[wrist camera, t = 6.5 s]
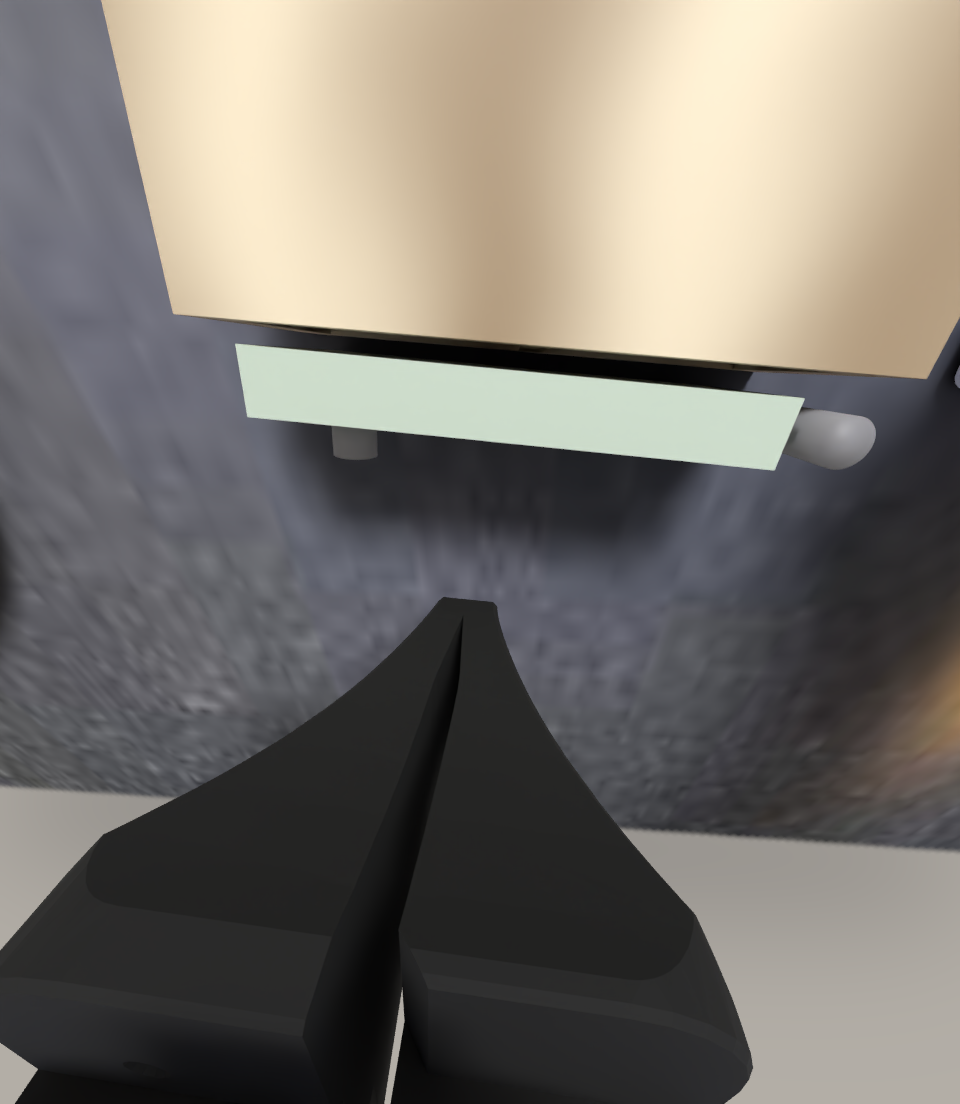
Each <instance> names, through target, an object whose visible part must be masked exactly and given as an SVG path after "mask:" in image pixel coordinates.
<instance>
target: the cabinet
mask: <svg viewBox="0 0 960 1104" xmlns="http://www.w3.org/2000/svg"><path fill="white" fill-rule="evenodd" d="M101 1H102V5H103V10H104V14H105V18H106V23H107V27H108V32H109V36H110V40H111V45H112V49H113V53H114V58H115V62H116V66H117V71H118V75H119V79H120V84H121V88H122V93H123V97H124V101H125V106H126V110H127V114H128V119H129V123H130V127H131V132H132V136H133V140H134V145H135V149H136V154H137V158H138V162H139V167H140V171H141V175H142V180H143V184H144V188H145V193H146V197H147V201H148V206H149V210H150V215H151V219H152V223H153V228H154V232H155V236H156V241H157V245H158V249H159V254H160V258H161V262H162V267H163V271H164V276H165V280H166V284H167V289H168V293H169V297H170V302H171V306H172V310H173V314H177V315H184V316H191V317H199V318H206V319H213V320H220V321H227V322H234V323H241V324H248V325H255V326H262V327H269V328H276V329H284V330H291V331H298V332H305V333H313V334H325V335H336V336H348V337H359V338H371V339H382V340H394V341H405V342H417V343H428V344H440V345H451V346H463V347H474V348H486V349H497V350H509V351H520V352H532V353H543V354H555V355H566V356H578V357H589V358H601V359H612V360H624V361H635V362H647V363H658V364H670V365H681V366H693V367H704V368H716V369H727V370H739V371H750V372H769V373H793V374H818V375H842V376H866V377H890V378H914V379H927V377H928V375H929V374H930V372H931V370H932V368H933V366H934V364H935V362H936V360H937V359H938V357H939V355H940V353H941V351H942V349H943V347H944V345H945V344H946V342H947V340H948V338H949V336H950V334H951V332H952V330H953V329H954V327H955V325H956V323H957V321H958V319H959V317H960V0H101Z"/></svg>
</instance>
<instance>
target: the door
mask: <svg viewBox="0 0 960 1104" xmlns="http://www.w3.org/2000/svg"><path fill="white" fill-rule="evenodd" d="M235 345H236V351H237V357H238V363H239V369H240V375H241V381H242V387H243V393H244V399H245V404H246V410H247V416H248V417H253V418H263V419H273V420H283V421H293V422H302V423H312V424H322V425H331V427H332V440H333V452H334V456H336V457H338V458H342V459H350V460H365V459H372V458H375V457H377V456H378V450H377V430H381V431H391V432H401V433H411V434H421V435H431V436H440V437H450V438H460V439H470V440H480V441H490V442H500V443H509V444H519V445H529V446H539V447H549V448H559V449H568V450H578V451H588V452H598V453H608V454H618V455H628V456H637V457H647V458H657V459H667V460H677V461H687V462H697V463H706V464H716V465H726V466H736V467H746V468H756V469H766V470H775V468H776V465H777V463H778V461H779V458H780V456H781V454H782V453H783V454H786V455H789V456H792V457H795V458H798V459H801V460H804V461H807V462H810V463H813V464H816V465H819V466H822V467H825V468H828V469H832V470H839V469H844V468H848V467H850V466H852V465H854V464H856V463H857V462H859V461H860V460H861V459H863V458H864V457H865V456H866V455H867V453H868V452H869V451H870V449H871V448H872V446H873V444H874V441H875V437H876V431H875V427H874V425H873V423H872V422H871V421H870V420H869V419H867V418H865V417H862V416H855V415H849V414H843V413H836V412H830V411H824V410H817V409H811V408H804V407H801V406H802V404H803V402H804V399H805V398H798V397H790V396H782V395H774V394H766V393H758V392H750V391H742V390H734V389H726V388H718V387H710V386H702V385H693V384H683V383H672V382H662V381H651V380H641V379H630V378H620V377H609V376H599V375H589V374H578V373H568V372H557V371H547V370H536V369H526V368H515V367H505V366H494V365H484V364H473V363H463V362H452V361H442V360H431V359H421V358H410V357H400V356H389V355H379V354H368V353H358V352H348V351H337V350H322V349H307V348H291V347H276V346H260V345H245V344H235Z"/></svg>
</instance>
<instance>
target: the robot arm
mask: <svg viewBox="0 0 960 1104" xmlns="http://www.w3.org/2000/svg"><path fill="white" fill-rule="evenodd" d="M955 384H956V385H957V387H958V388H960V366H959V368H958V370H957V372H956V375H955ZM402 988H403V1003H404V1018H405V1023H404V1028H403V1034H402V1040H401V1046H400V1051H399V1057H398V1063H397V1069H396V1075H395V1081H394V1087H393V1092H392V1098H391V1104H725V1103H726V1102H727V1101H728V1100H730V1099H731V1098H732V1097H734V1096H735V1095H736V1094H737V1093H739V1092H740V1091H741V1090H742V1088H743V1087H744V1086H745V1084H746V1083H747V1081H748V1080H749V1078H750V1074H751V1072H752V1069H753V1065H752V1058H751V1053H750V1050H749V1047H748V1044H747V1041H746V1037H745V1034H744V1031H743V1028H742V1025H741V1022H740V1019H739V1016H738V1013H737V1011H736V1008H735V1005H734V1002H733V1000H732V997H731V995H730V993H729V990H728V987H727V985H726V983H725V980H724V978H723V976H722V973H721V971H720V969H719V966H718V964H717V961H716V959H715V957H714V955H713V952H712V950H711V948H710V946H709V944H708V941H707V939H706V937H705V934H704V933H703V930H702V928H701V926H700V924H699V922H698V919H697V917H696V915H695V914H694V913H693V912H692V910H691V909H690V908H689V907H688V906H687V905H686V904H685V903H684V902H683V901H682V900H681V899H680V897H679V896H678V895H677V894H676V893H675V892H674V891H673V890H672V888H671V887H670V886H669V885H668V884H667V883H666V882H665V881H664V880H663V878H662V877H661V876H660V875H659V874H658V873H657V872H656V871H655V869H654V868H653V867H652V866H651V865H650V864H649V862H648V861H647V860H646V859H645V858H644V857H643V855H642V854H641V853H640V852H639V851H638V850H637V848H636V847H635V846H634V845H633V844H632V843H631V841H630V840H629V839H628V838H627V836H626V835H625V834H624V833H623V832H622V830H621V829H620V828H619V827H618V825H617V824H616V823H615V822H614V820H613V819H612V818H611V817H610V815H609V814H608V813H607V812H606V811H605V809H604V808H603V807H602V806H601V804H600V803H599V802H598V800H597V799H596V797H595V796H594V795H593V793H592V792H591V791H590V789H589V788H588V786H587V785H586V784H585V782H584V781H583V780H582V778H581V777H580V776H579V774H578V773H577V771H576V770H575V769H574V767H573V766H572V765H571V763H570V762H569V761H568V759H567V758H566V756H565V755H564V753H563V752H562V750H561V749H560V747H559V746H558V744H557V742H556V741H555V739H554V738H553V736H552V735H551V733H550V732H549V730H548V728H547V727H546V725H545V723H544V721H543V720H542V718H541V716H540V715H539V713H538V711H537V709H536V708H535V706H534V704H533V702H532V700H531V698H530V697H529V695H528V693H527V691H526V689H525V687H524V685H523V682H522V680H521V678H520V676H519V674H518V672H517V670H516V667H515V665H514V663H513V660H512V658H511V655H510V653H509V650H508V648H507V645H506V642H505V639H504V636H503V633H502V630H501V626H500V622H499V618H498V612H497V606H496V605H495V604H494V603H493V602H487V601H477V600H467V599H457V598H447V597H443V598H442V599H440V600H439V601H438V602H437V604H436V605H435V606H434V608H433V609H432V610H431V611H430V613H429V614H428V615H427V616H426V617H425V618H424V620H423V621H422V622H421V623H420V624H419V625H418V626H417V628H416V629H415V630H414V631H413V632H412V633H411V634H410V635H409V636H408V637H407V638H406V639H405V640H404V641H403V642H402V643H401V644H400V645H399V646H398V647H397V648H396V649H395V650H394V651H393V652H392V653H391V654H390V655H389V656H388V657H387V658H386V659H385V660H384V661H383V662H382V663H380V664H379V665H378V666H377V667H376V668H375V669H374V670H373V671H372V672H371V673H370V674H368V675H367V676H366V677H365V678H364V679H363V680H361V681H360V682H359V683H358V684H357V685H355V686H354V687H353V688H352V689H350V690H349V691H348V692H347V693H345V694H344V695H343V696H342V697H340V698H339V699H338V700H336V701H335V702H334V703H332V704H331V705H330V706H328V707H327V708H326V709H324V710H323V711H321V712H320V713H319V714H317V715H316V716H314V717H313V718H311V719H310V720H309V721H307V722H306V723H304V724H303V725H302V726H300V727H299V728H297V729H296V730H294V731H293V732H291V733H290V734H288V735H287V736H285V737H283V738H282V739H280V740H279V741H277V742H276V743H274V744H272V745H271V746H269V747H267V748H266V749H264V750H262V751H261V752H259V753H257V754H256V755H254V756H252V757H251V758H249V759H247V760H246V761H244V762H242V763H241V764H239V765H237V766H235V767H233V768H232V769H230V770H228V771H226V772H225V773H223V774H221V775H219V776H218V777H216V778H214V779H212V780H210V781H208V782H207V783H205V784H203V785H201V786H199V787H197V788H195V789H194V790H192V791H190V792H188V793H186V794H184V795H182V796H180V797H178V798H176V799H174V800H172V801H170V802H168V803H166V804H164V805H162V806H160V807H158V808H156V809H154V810H152V811H150V812H148V813H146V814H144V815H142V816H140V817H138V818H136V819H134V820H133V821H130V822H128V823H126V824H124V825H122V826H120V827H118V828H116V829H114V830H112V831H110V832H108V833H106V834H103V836H102V837H101V838H100V839H99V840H98V841H97V842H96V843H95V844H94V845H93V846H92V847H91V848H90V849H89V850H88V851H87V853H86V854H85V855H84V856H83V857H82V858H81V859H80V860H79V861H78V862H77V863H76V864H75V865H74V867H73V868H72V869H71V870H70V871H69V872H68V873H67V874H66V875H65V877H64V878H63V879H62V880H61V881H60V882H59V883H58V885H57V886H56V887H55V888H54V889H53V890H52V892H51V893H50V894H49V895H48V896H47V897H46V899H45V900H44V901H43V902H42V903H41V904H40V905H39V907H38V908H37V909H36V910H35V911H34V912H33V913H32V915H31V916H30V917H29V918H28V919H27V921H26V922H25V923H24V924H23V925H22V926H21V927H20V928H19V930H18V931H17V932H16V933H15V934H14V935H13V937H12V938H11V939H10V940H9V941H8V942H7V943H6V945H5V946H4V947H3V948H2V949H1V950H0V1043H1V1044H3V1045H4V1046H6V1047H7V1048H9V1049H10V1050H12V1051H13V1052H14V1053H16V1054H17V1055H19V1056H20V1057H22V1058H23V1059H24V1060H26V1061H27V1062H29V1063H30V1064H32V1065H33V1066H35V1067H36V1068H38V1070H37V1072H36V1074H35V1075H34V1076H33V1078H32V1079H31V1081H30V1082H29V1084H28V1085H27V1087H26V1088H25V1089H24V1091H23V1092H22V1094H21V1095H20V1097H19V1098H18V1100H17V1101H16V1103H15V1104H384V1101H385V1095H386V1088H387V1082H388V1075H389V1069H390V1062H391V1056H392V1049H393V1043H394V1036H395V1030H396V1023H397V1016H398V1010H399V1004H400V997H401V992H402Z"/></svg>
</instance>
